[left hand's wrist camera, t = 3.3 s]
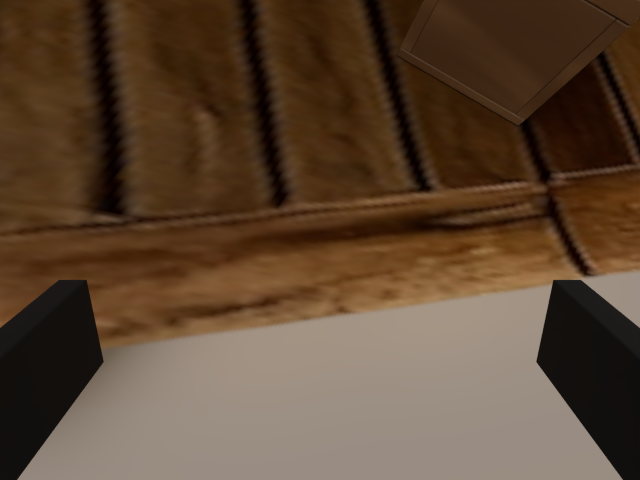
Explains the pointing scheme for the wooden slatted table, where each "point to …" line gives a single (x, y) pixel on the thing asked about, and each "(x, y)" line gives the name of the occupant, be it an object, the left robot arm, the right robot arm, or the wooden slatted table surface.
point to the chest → (508, 48)
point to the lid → (621, 9)
